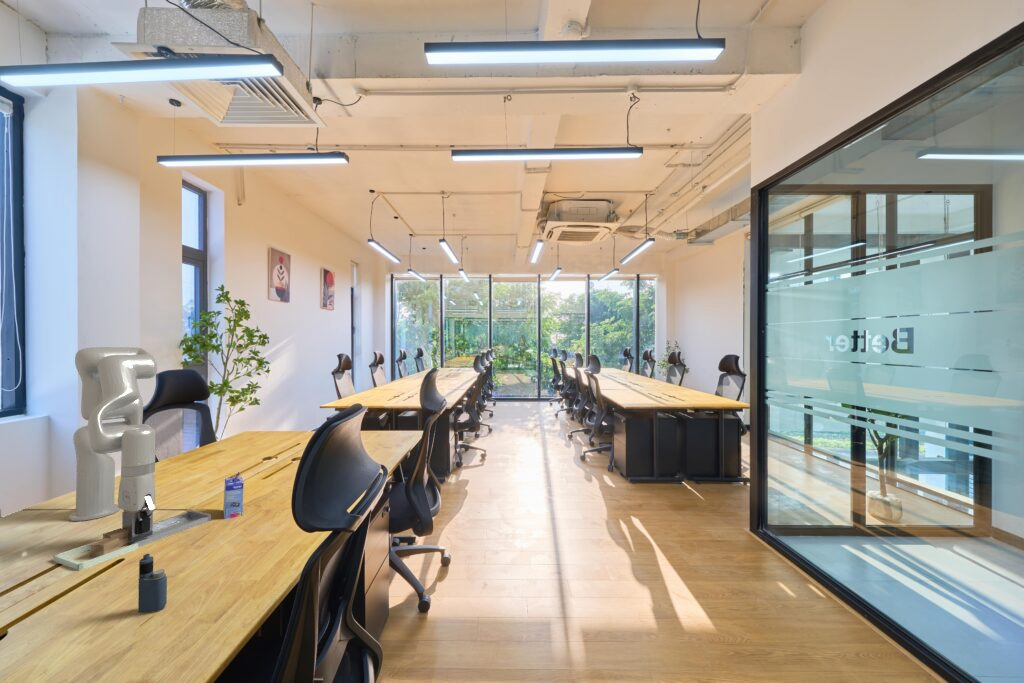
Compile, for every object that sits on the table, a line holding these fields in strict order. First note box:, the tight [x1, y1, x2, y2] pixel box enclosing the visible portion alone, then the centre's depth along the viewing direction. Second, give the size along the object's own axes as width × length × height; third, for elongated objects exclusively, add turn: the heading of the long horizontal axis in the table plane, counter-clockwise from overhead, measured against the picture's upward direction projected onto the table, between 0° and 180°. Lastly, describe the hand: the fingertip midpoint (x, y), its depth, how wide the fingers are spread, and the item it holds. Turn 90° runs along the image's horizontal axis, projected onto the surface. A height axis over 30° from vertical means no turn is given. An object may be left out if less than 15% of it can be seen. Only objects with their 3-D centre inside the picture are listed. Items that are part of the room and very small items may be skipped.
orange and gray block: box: [121, 506, 154, 542], centre depth 121 cm, size 5×5×8 cm
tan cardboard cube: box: [102, 527, 128, 548], centre depth 118 cm, size 4×4×4 cm
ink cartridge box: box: [222, 471, 245, 520], centre depth 142 cm, size 10×6×14 cm, turn 37°
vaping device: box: [137, 553, 168, 614], centre depth 90 cm, size 3×5×12 cm, turn 95°
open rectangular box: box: [126, 509, 212, 548], centre depth 128 cm, size 11×20×3 cm, turn 158°
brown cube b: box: [89, 538, 120, 559], centre depth 113 cm, size 4×4×4 cm
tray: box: [52, 538, 139, 571], centre depth 113 cm, size 13×12×2 cm
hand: (137, 530), depth 121 cm, fingers closed on orange and gray block, 5 cm apart
